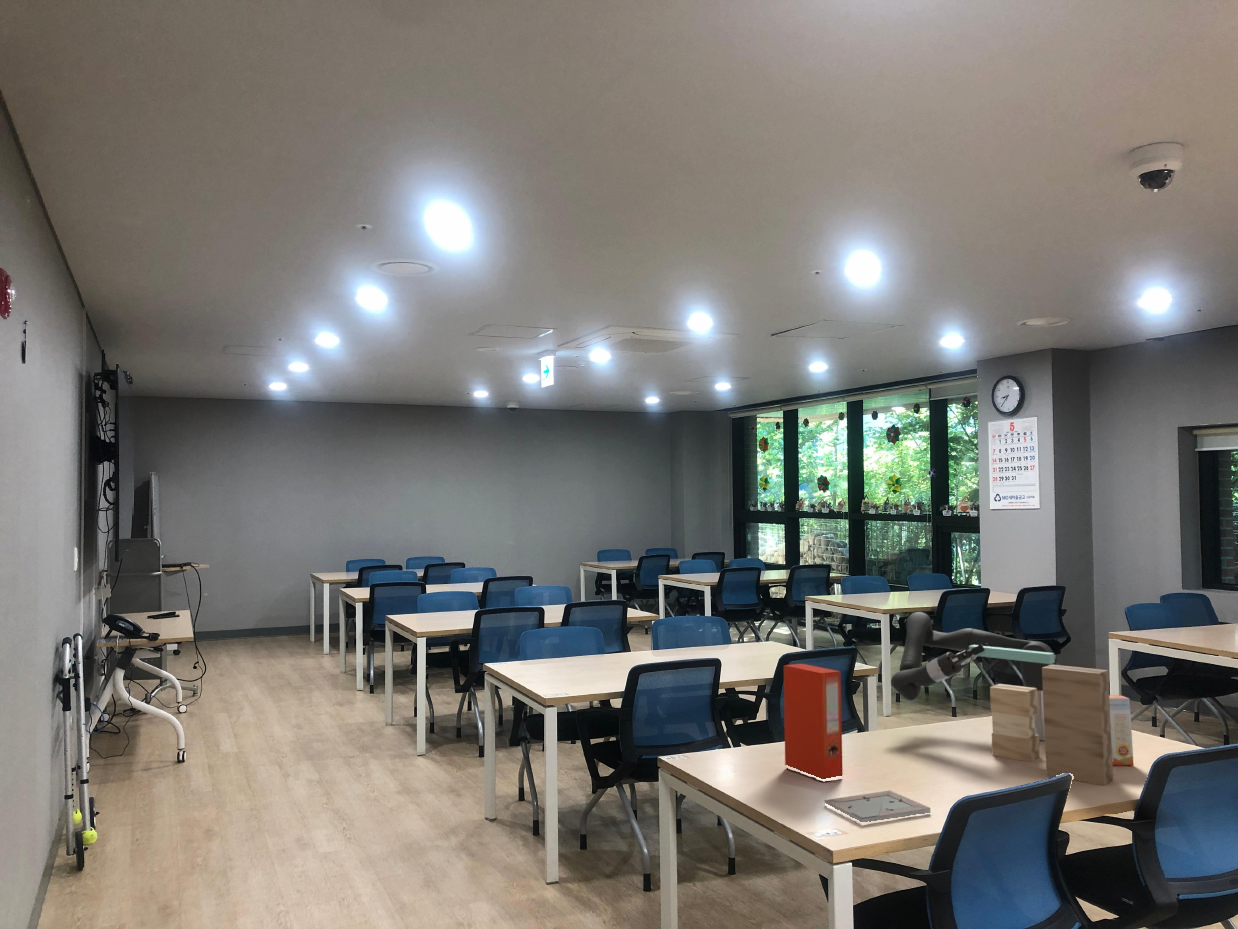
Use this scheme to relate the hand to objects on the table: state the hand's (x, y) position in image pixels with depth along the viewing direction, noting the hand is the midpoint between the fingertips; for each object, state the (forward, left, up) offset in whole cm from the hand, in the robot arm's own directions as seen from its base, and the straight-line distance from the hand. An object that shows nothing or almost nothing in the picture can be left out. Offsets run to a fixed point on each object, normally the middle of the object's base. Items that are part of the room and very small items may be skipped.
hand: (985, 646), depth 296 cm
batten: (0, +8, -3) cm, 9 cm away
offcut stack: (0, +8, -34) cm, 35 cm away
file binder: (+62, -29, -35) cm, 76 cm away
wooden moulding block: (+12, +31, -34) cm, 48 cm away
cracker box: (-10, +32, -35) cm, 49 cm away
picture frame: (+80, +2, -35) cm, 87 cm away
